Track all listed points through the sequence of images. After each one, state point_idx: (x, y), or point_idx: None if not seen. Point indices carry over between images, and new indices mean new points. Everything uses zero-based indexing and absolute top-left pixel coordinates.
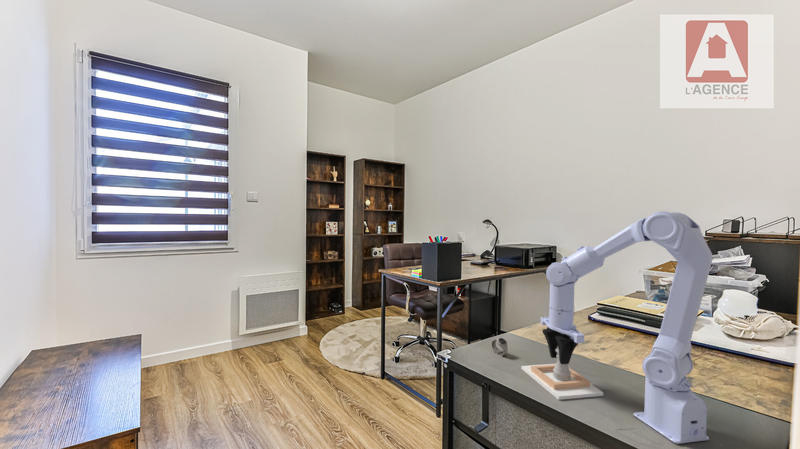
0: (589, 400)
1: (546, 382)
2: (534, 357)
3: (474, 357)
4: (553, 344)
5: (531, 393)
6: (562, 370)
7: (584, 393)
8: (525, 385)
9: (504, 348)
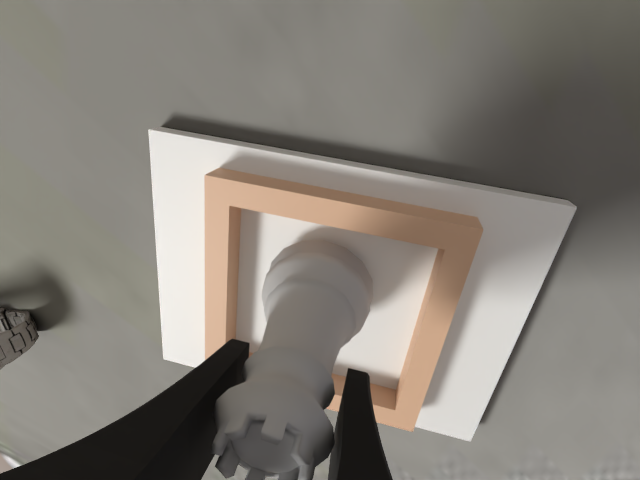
0: (551, 315)
1: None
2: (39, 183)
3: (58, 428)
4: (187, 477)
5: None
6: (342, 346)
7: (516, 320)
8: None
9: (3, 355)
